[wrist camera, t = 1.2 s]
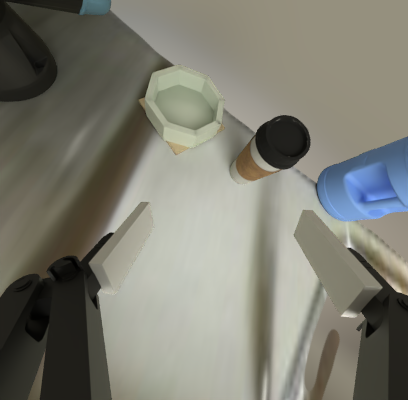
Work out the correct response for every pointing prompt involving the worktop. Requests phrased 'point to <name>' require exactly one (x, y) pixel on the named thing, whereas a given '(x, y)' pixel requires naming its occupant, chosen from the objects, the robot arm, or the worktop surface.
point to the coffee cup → (271, 149)
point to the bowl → (183, 107)
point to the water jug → (367, 184)
